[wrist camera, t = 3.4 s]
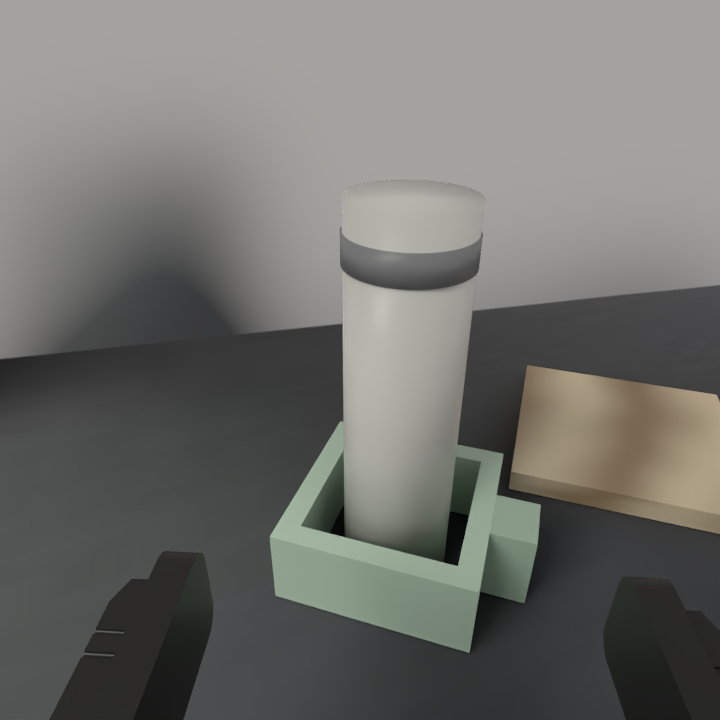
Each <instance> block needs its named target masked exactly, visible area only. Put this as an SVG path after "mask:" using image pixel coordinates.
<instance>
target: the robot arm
mask: <svg viewBox="0 0 720 720" xmlns="http://www.w3.org/2000/svg"><path fill="white" fill-rule="evenodd" d="M212 619H213V601H212V595H211V590H210V584H209V579H208V573H207V568H206V562H205V557H204V555H203V554H202V553H191V552H171V551H164V552H162V553H161V555H160V556H159V558H158V560H157V562H156V564H155V566H154V568H153V570H152V573H151V575H150V577H149V579H148V580H145V579H131V580H130V581H129V582H128V583H127V584H126V585H125V586H124V587H123V588H122V589H121V590H120V591H119V592H118V593H117V594H116V595H115V596H114V597H113V598H112V599H111V600H110V601H109V603H108V605H107V607H106V609H105V611H104V613H103V615H102V617H101V619H100V621H99V623H98V625H97V627H96V632H95V634H93V635H92V637H91V639H90V641H89V643H88V645H87V647H86V649H85V653H84V656H83V657H81V659H80V661H79V663H78V665H77V667H76V668H75V670H74V672H73V674H72V676H71V678H70V680H69V682H68V684H67V686H66V688H65V690H64V692H63V694H62V696H61V698H60V700H59V702H58V704H57V706H56V708H55V710H54V712H53V714H52V716H51V718H50V720H183V719H184V716H185V712H186V709H187V706H188V703H189V700H190V696H191V693H192V690H193V687H194V684H195V680H196V677H197V674H198V671H199V668H200V664H201V661H202V658H203V655H204V652H205V648H206V645H207V642H208V639H209V635H210V631H211V626H212ZM604 651H605V656H606V660H607V664H608V667H609V670H610V673H611V676H612V679H613V682H614V685H615V688H616V691H617V694H618V697H619V700H620V703H621V706H622V709H623V712H624V715H625V718H626V720H720V631H719V630H718V629H717V628H716V627H715V626H714V625H713V624H712V623H711V622H710V621H709V620H708V619H707V618H706V617H705V615H704V614H703V613H702V612H701V611H686V610H685V608H684V606H683V604H682V602H681V600H680V598H679V596H678V594H677V592H676V590H675V588H674V586H673V585H672V584H671V582H670V581H668V580H667V579H662V578H643V577H623V578H622V579H621V581H620V583H619V586H618V589H617V592H616V594H615V597H614V600H613V603H612V606H611V609H610V612H609V615H608V618H607V621H606V624H605V627H604Z"/></svg>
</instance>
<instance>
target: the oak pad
mask: <svg viewBox="0 0 720 720" xmlns="http://www.w3.org/2000/svg"><path fill="white" fill-rule="evenodd" d="M509 489H512V490H517V491H521V492H526V493H531V494H535V495H540V496H545V497H549V498H554V499H559V500H563V501H568V502H573V503H577V504H582V505H587V506H591V507H596V508H601V509H605V510H610V511H615V512H619V513H624V514H628V515H633V516H638V517H642V518H647V519H652V520H656V521H661V522H666V523H670V524H675V525H680V526H684V527H689V528H694V529H698V530H703V531H708V532H712V533H717V534H720V402H719V399H718V397H717V395H714V394H708V393H701V392H695V391H689V390H682V389H676V388H670V387H663V386H657V385H650V384H644V383H638V382H631V381H625V380H619V379H612V378H606V377H599V376H593V375H587V374H580V373H574V372H568V371H561V370H555V369H549V368H542V367H536V366H529V365H527V371H526V376H525V382H524V389H523V396H522V402H521V409H520V416H519V422H518V429H517V436H516V442H515V449H514V455H513V462H512V469H511V475H510V482H509Z"/></svg>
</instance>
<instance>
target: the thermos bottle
mask: <svg viewBox="0 0 720 720" xmlns="http://www.w3.org/2000/svg"><path fill="white" fill-rule="evenodd" d="M341 197H342V199H341V202H342V226H341V228H340V265H341V268H342V301H343V302H342V308H343V309H342V310H343V421H344V530H345V537H346V538H350V539H354V540H357V541H361V542H365V543H369V544H373V545H377V546H381V547H385V548H389V549H393V550H396V551H400V552H404V553H408V554H412V555H416V556H420V557H424V558H428V559H432V560H435V561H439V562H444V557H445V549H446V540H447V531H448V522H449V513H450V504H451V496H452V487H453V478H454V469H455V460H456V451H457V442H458V434H459V425H460V416H461V407H462V398H463V389H464V380H465V371H466V363H467V354H468V345H469V336H470V327H471V318H472V309H473V300H474V291H475V282H476V274H477V273H478V269H479V262H480V254H481V246H482V237H483V234H482V231H481V230H482V221H483V212H484V202H485V198H484V196H483V195H482V194H481V193H479V192H478V191H476V190H473V189H471V188H468V187H464V186H460V185H456V184H450V183H444V182H436V181H425V180H389V181H387V180H386V181H376V182H369V183H364V184H359V185H356V186H353V187H350V188H348V189H346V190H345V191H343V193H342V196H341Z"/></svg>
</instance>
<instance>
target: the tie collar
mask: <svg viewBox="0 0 720 720" xmlns="http://www.w3.org/2000/svg"><path fill="white" fill-rule="evenodd" d="M502 460H503V454H502V453H497V452H492V451H487V450H482V449H477V448H472V447H467V446H462V445H457V451H456V460H455V469H454V478H453V487H452V496H451V504H450V511H451V512H456V513H460V514H464V515H469V519H468V523H467V528H466V532H465V537H464V541H463V545H462V550H461V554H460V559H459V563H458V566H455V565H451V564H447V563H443V562H439V561H435V560H432V559H428V558H424V557H420V556H416V555H412V554H408V553H404V552H400V551H396V550H393V549H389V548H385V547H381V546H377V545H373V544H369V543H365V542H361V541H357V540H354V539H350V538H346V537H342V536H338V535H334V534H330V531H331V529H332V527H333V525H334V523H335V521H336V519H337V517H338V515H339V513H340V511H341V509H342V507H343V505H344V422H342V421H340V423H339V425H338V426H337V428H336V429H335V431H334V433H333V434H332V436H331V438H330V439H329V441H328V443H327V444H326V446H325V447H324V449H323V451H322V452H321V454H320V456H319V457H318V459H317V460H316V462H315V464H314V465H313V467H312V469H311V470H310V472H309V474H308V475H307V477H306V478H305V480H304V482H303V483H302V485H301V487H300V488H299V490H298V492H297V493H296V495H295V496H294V498H293V500H292V501H291V503H290V505H289V506H288V508H287V509H286V511H285V513H284V514H283V516H282V518H281V519H280V521H279V523H278V524H277V526H276V527H275V529H274V531H273V532H272V534H271V536H270V545H271V555H272V565H273V575H274V586H275V596H278V597H281V598H285V599H288V600H292V601H295V602H298V603H302V604H305V605H309V606H312V607H315V608H319V609H322V610H325V611H329V612H332V613H336V614H339V615H342V616H346V617H349V618H353V619H356V620H359V621H363V622H366V623H369V624H373V625H376V626H380V627H383V628H386V629H390V630H393V631H397V632H400V633H403V634H407V635H410V636H413V637H417V638H420V639H424V640H427V641H430V642H434V643H437V644H441V645H444V646H447V647H451V648H454V649H457V650H461V651H464V652H468V653H470V647H471V642H472V636H473V630H474V624H475V619H476V613H477V607H478V601H479V596H480V592H483V593H487V594H490V595H494V596H498V597H502V598H505V599H509V600H513V601H517V602H520V603H524V604H525V599H526V595H527V590H528V586H529V581H530V577H531V573H532V568H533V564H534V559H535V555H536V550H537V546H538V534H539V521H540V508H541V505H540V504H536V503H531V502H526V501H522V500H517V499H513V498H508V497H504V496H499V495H497V491H498V485H499V479H500V473H501V467H502Z"/></svg>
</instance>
